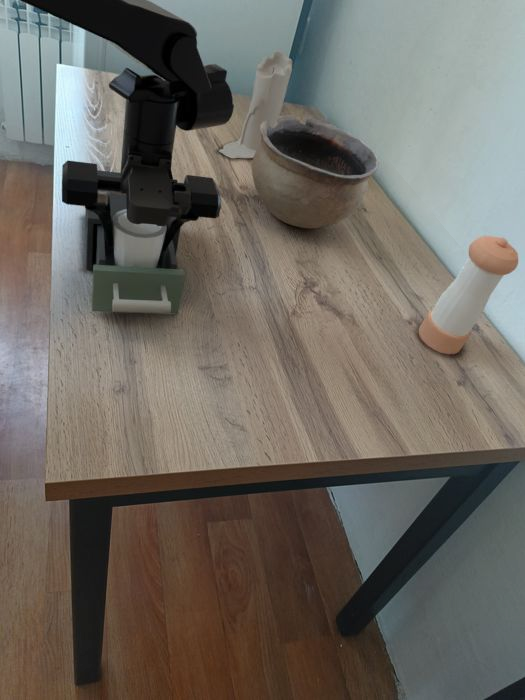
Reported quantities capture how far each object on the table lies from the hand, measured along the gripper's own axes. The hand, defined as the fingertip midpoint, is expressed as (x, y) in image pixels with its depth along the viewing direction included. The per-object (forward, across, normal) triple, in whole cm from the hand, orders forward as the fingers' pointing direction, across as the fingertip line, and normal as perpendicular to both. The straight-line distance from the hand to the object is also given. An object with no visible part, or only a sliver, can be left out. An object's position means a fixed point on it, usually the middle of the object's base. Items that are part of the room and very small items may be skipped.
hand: (137, 247), depth 72 cm
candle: (+8, +28, +52) cm, 59 cm away
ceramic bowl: (+8, +33, +26) cm, 42 cm away
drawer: (+7, 0, -2) cm, 7 cm away
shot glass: (+3, 0, 0) cm, 3 cm away
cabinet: (+8, 0, +12) cm, 14 cm away
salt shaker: (+8, +48, -9) cm, 49 cm away
